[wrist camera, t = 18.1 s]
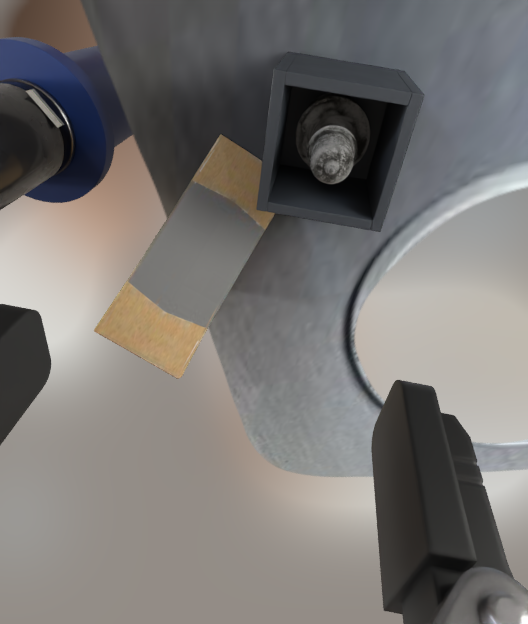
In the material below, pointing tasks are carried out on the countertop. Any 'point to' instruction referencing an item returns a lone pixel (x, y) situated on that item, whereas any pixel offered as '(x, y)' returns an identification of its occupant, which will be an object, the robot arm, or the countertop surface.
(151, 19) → the countertop surface
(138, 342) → the sandwich container
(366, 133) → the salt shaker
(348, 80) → the trash bin
